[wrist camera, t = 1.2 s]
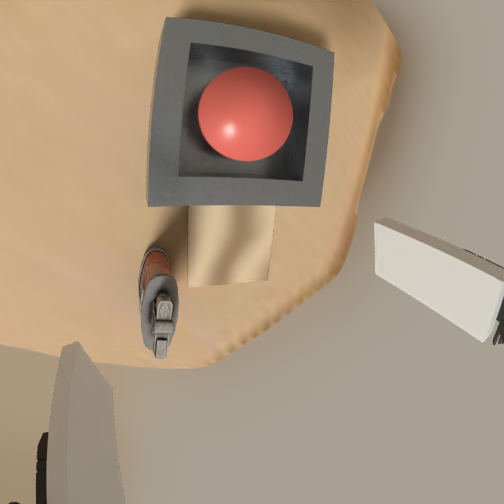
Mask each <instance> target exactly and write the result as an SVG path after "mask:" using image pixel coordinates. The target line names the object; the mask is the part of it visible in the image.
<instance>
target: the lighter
mask: <svg viewBox="0 0 504 504" xmlns="http://www.w3.org/2000/svg"><path fill="white" fill-rule="evenodd" d="M138 296H139V303H140V318H141V330H142V335H143V341H144V344H145V346H146V347H147V348H148V349H150V350H153V354H154V358H155V359H158V360H163V359H165V358H166V357H167V349H168V347H169V345H170V343H171V340H172V337H173V335H174V332H175V327H176V323H177V318H178V304H179V301H178V287H177V283H176V280H175V279H174V277H173V276H172V275H171V272H170V268H169V259H168V255H167V252H166V251H165V250H164V249H162V248H160V247H152V248H149V249H148V250H147V251H146V252H145V254H144V257H143V260H142V263H141V267H140V273H139V278H138Z"/></svg>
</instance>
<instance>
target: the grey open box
mask: <svg viewBox="0 0 504 504" xmlns="http://www.w3.org/2000/svg"><path fill="white" fill-rule="evenodd" d="M238 67H252V68H257V69H260V70H263V71H265V72H267V73H269V74H271V75H272V76H273V77H275V78H276V79H277V80H278V81H279V82H280V83H281V84H282V85H283V87H284V88H285V90H286V91H287V93H288V95H289V97H290V100H291V103H292V108H293V122H292V127H291V131H290V133H289V135H288V137H287V139H286V141H285V142H284V144H283V145H282V146H281V147H280V148H279V149H278V150H277V151H276V152H274V153H273V154H271V155H270V156H268V157H266V158H263V159H260V160H256V161H240V160H234V159H230V158H227V157H225V156H223V155H221V154H219V153H218V152H216V151H215V150H214V149H213V148H212V147H211V146H210V145H209V144H208V143H207V142H206V140H205V139H204V137H203V135H202V134H201V131H200V129H199V125H198V120H197V107H198V102H199V99H200V96H201V94H202V92H203V90H204V89H205V87H206V86H207V85H208V84H209V83H210V82H211V81H212V80H213V79H214V78H215V77H217V76H218V75H220V74H221V73H223V72H225V71H227V70H230V69H233V68H238ZM333 67H334V52H331V51H329V50H326V49H323V48H320V47H317V46H314V45H311V44H308V43H305V42H302V41H299V40H295V39H292V38H288V37H285V36H281V35H277V34H273V33H269V32H265V31H261V30H257V29H252V28H247V27H242V26H237V25H232V24H226V23H219V22H212V21H205V20H196V19H186V18H174V17H166V19H165V22H164V26H163V29H162V33H161V36H160V41H159V47H158V53H157V60H156V67H155V74H154V82H153V90H152V99H151V109H150V121H149V134H148V151H147V176H146V198H147V204H148V207H156V206H201V205H264V206H309V207H320V203H321V196H322V188H323V180H324V172H325V163H326V154H327V145H328V134H329V124H330V112H331V99H332V85H333Z"/></svg>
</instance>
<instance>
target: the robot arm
mask: <svg viewBox="0 0 504 504" xmlns="http://www.w3.org/2000/svg"><path fill="white" fill-rule="evenodd" d="M374 231H375V274H376V275H378V276H380V277H382V278H383V279H385V280H386V281H388V282H390V283H391V284H393V285H395V286H396V287H398V288H399V289H401V290H403V291H404V292H406V293H407V294H409V295H411V296H412V297H414V298H415V299H417V300H419V301H420V302H422V303H423V304H425V305H427V306H428V307H430V308H431V309H433V310H434V311H436V312H437V313H439V314H441V315H442V316H444V317H445V318H447V319H448V320H450V321H451V322H453V323H454V324H456V325H457V326H459V327H460V328H462V329H463V330H465V331H467V332H468V333H469V334H471V335H472V336H474V337H475V338H477V339H478V340H479V341H481V342H484V341H485V340H486V339H487V337H488V336H489V335H490V333H491V332H492V330H493V327H494V324H495V322H496V320H498V321H499V322H500V323H499V325H498V328H497V330H496V333H495V335H494V338H493V345H495V344H496V342H497V340H498V337H499V335H501V336H500V339H499V341H498V344H501V343H504V268H503V267H501V266H499V265H497V264H495V263H493V262H491V261H489V260H487V259H484V258H483V257H481V256H476V254H474V253H472V252H470V251H468V250H465V249H461V248H459V247H456V246H454V245H452V244H450V243H447V242H445V241H443V240H441V239H438V238H436V237H434V236H431V235H429V234H426V233H424V232H422V231H419V230H417V229H414V228H412V227H409V226H406V225H404V224H402V223H399V222H397V221H394V220H391V219H388V218H386V217H385V218H382V219H380V220H378V221H375V222H374ZM37 460H38V462H37V466H36V470H37V473H36V504H126V501H125V496H124V491H123V485H122V479H121V473H120V466H119V459H118V451H117V442H116V432H115V419H114V403H113V388H112V386H111V385H110V384H109V383H108V382H107V380H106V379H105V378H104V376H103V375H102V374H101V373H100V372H99V370H98V369H97V367H96V366H95V365H94V363H93V362H92V361H91V359H90V358H89V357H88V355H87V354H86V352H85V351H84V349H83V348H82V347H81V345H80V344H79V342H78V341H77V342H74V343H72V344H69V345H66V346H63V347H62V351H61V356H60V360H59V366H58V370H57V375H56V381H55V387H54V393H53V399H52V407H51V415H50V423H49V432H46V433H43V435H42V437H41V439H40V442H39V444H38V451H37ZM9 504H19V503H17V502H11V503H9Z"/></svg>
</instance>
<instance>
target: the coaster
mask: <svg viewBox="0 0 504 504" xmlns="http://www.w3.org/2000/svg"><path fill="white" fill-rule="evenodd" d="M275 209H276V206H264V205H201V206H188V250H187V285H188V288H190V287H202V286H213V285H224V284H235V283H245V282H255V281H265V280H268V272H269V263H270V255H271V246H272V237H273V228H274V218H275Z"/></svg>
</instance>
